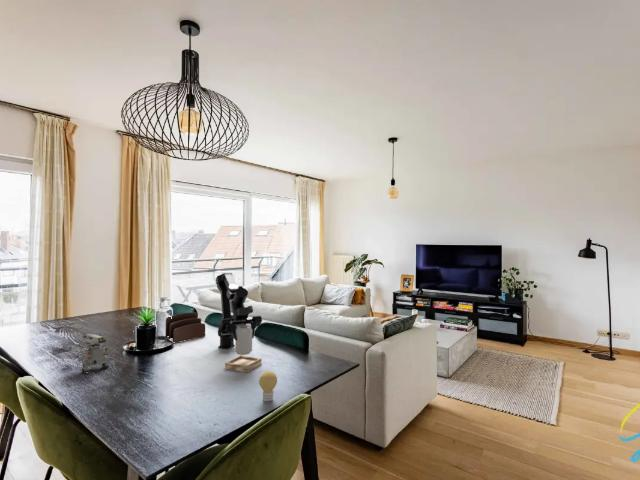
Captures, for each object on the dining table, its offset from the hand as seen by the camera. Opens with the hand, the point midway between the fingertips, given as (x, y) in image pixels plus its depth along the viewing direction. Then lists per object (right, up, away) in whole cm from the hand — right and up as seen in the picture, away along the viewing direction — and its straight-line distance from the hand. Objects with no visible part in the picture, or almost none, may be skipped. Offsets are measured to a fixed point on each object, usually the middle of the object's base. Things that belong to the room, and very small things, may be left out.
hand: (244, 338), depth 154 cm
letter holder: (-45, -13, +45) cm, 65 cm away
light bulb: (+15, -13, -32) cm, 38 cm away
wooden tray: (-1, -13, +1) cm, 13 cm away
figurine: (-65, -12, -5) cm, 67 cm away
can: (-1, -7, +1) cm, 7 cm away
